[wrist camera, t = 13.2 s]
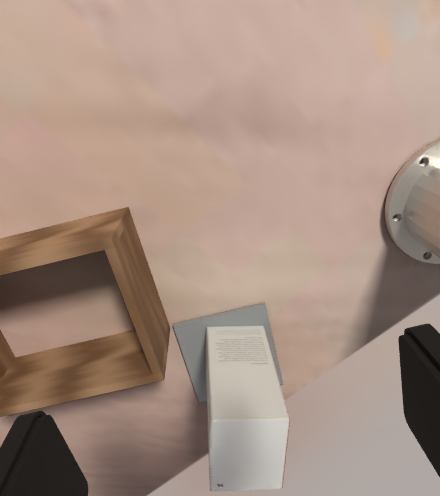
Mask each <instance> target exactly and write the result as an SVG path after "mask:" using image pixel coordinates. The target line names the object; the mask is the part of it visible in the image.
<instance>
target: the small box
mask: <svg viewBox="0 0 440 496" xmlns="http://www.w3.org/2000/svg"><path fill="white" fill-rule="evenodd" d="M206 388H207V413H208V447H209V475H210V476H209V478H210V491H245V490H266V489H281V488H282V487H283V479H284V469H285V460H286V451H287V442H288V432H289V422H290V418H289V415H288V411H287V408H286V404H285V401H284V397H283V393H282V390H281V386H280V383H279V379H278V376H277V372H276V368H275V365H274V361H273V358H272V354H271V350H270V347H269V343H268V339H267V336H266V332H265V329H264V326H217V327H207V329H206Z"/></svg>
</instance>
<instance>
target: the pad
mask: <svg viewBox="0 0 440 496" xmlns="http://www.w3.org/2000/svg"><path fill="white" fill-rule="evenodd" d="M217 326H264V329H265V332H266V336H267V339H268V343H269V347H270V350H271V354H272V358H273V361H274V365H275V368H276V372H277V376H278V379H279V383H280V385H283V381H282V377H281V372H280V368H279V363H278V359H277V354H276V350H275V346H274V341H273V337H272V332H271V328H270V323H269V319H268V314H267V310H266V306H265V302H264V303H260V304H256V305H251V306H247V307H243V308H238V309H234V310H230V311H225V312H221V313H217V314H213V315H208V316H204V317H200V318H195V319H191V320H187V321H182V322H178V323H174V324H173V327H174V330H175V333H176V336H177V339H178V342H179V345H180V348H181V351H182V354H183V357H184V360H185V363H186V366H187V368H188V371H189V374H190V377H191V380H192V383H193V386H194V389H195V392H196V395H197V398H198V401H199V403H203V402H207V388H206V329H207V327H217Z"/></svg>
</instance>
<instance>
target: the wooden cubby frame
mask: <svg viewBox="0 0 440 496" xmlns="http://www.w3.org/2000/svg"><path fill="white" fill-rule="evenodd" d="M102 250H105V252H106V255H107V258H108V260H109V263H110V265H111V268H112V271H113V273H114V276H115V278H116V281H117V283H118V286H119V289H120V291H121V294H122V296H123V299H124V302H125V304H126V307H127V309H128V312H129V314H130V317H131V320H132V322H133V325H134V327H135V330H133V331H129V332H125V333H120V334H116V335H112V336H107V337H103V338H99V339H94V340H90V341H86V342H82V343H77V344H73V345H69V346H64V347H60V348H56V349H52V350H47V351H43V352H39V353H34V354H30V355H26V356H21V357H17V358H15V356H14V354H13V352H12V351H11V349H10V347H9V345H8V343H7V342H6V340H5V338H4V336H3V334H2V332H1V331H0V417H2V416H7V415H11V414H16V413H20V412H24V411H29V410H33V409H38V408H42V407H47V406H51V405H55V404H60V403H64V402H69V401H73V400H77V399H82V398H86V397H91V396H95V395H100V394H104V393H108V392H113V391H117V390H122V389H126V388H131V387H135V386H139V385H144V384H148V383H153V382H157V381H162V380H164V378H165V369H166V360H167V352H168V343H169V335H170V326H169V324H168V321H167V318H166V315H165V312H164V309H163V306H162V303H161V300H160V297H159V295H158V292H157V289H156V286H155V283H154V280H153V277H152V274H151V271H150V268H149V266H148V263H147V260H146V257H145V254H144V251H143V248H142V245H141V242H140V239H139V237H138V234H137V231H136V228H135V225H134V222H133V219H132V216H131V213H130V210H129V208H128V207H127V208H123V209H119V210H115V211H111V212H107V213H103V214H99V215H95V216H91V217H87V218H83V219H78V220H74V221H70V222H66V223H62V224H58V225H54V226H50V227H46V228H42V229H38V230H34V231H30V232H26V233H22V234H18V235H14V236H10V237H6V238H2V239H0V275H3V274H8V273H12V272H16V271H20V270H24V269H28V268H32V267H36V266H40V265H45V264H49V263H53V262H57V261H61V260H65V259H69V258H73V257H77V256H82V255H86V254H90V253H94V252H98V251H102Z"/></svg>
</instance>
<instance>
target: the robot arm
mask: <svg viewBox="0 0 440 496" xmlns="http://www.w3.org/2000/svg"><path fill="white" fill-rule="evenodd" d="M421 159H422V160H421ZM420 160H421V162H420ZM419 162H420V163H419ZM394 215H395V216H394ZM393 216H394V217H393ZM385 222H386V226H387V230H388V232H389V234H390V236H391V238H392V240H393V241H394V243H395V244H396V245H397V246H398V247H399V248H400V249H401V250H402V251H403V252H405V253H406V254H407V255H409V256H410V257H412V258H414V259H415V260H418V261H421V262H424V263H430V264H440V140H437V141H435V142H433V143H431V144H429V145H427V146H426V147H424V148H422V149H421V150H419V151H418V152H417V153H415V154H414V155H413V156H412V157H411V158H410V159H409V160H408V161H407V162H406V163H405V164H404V165H403V167H402V168H401V169H400V170H399V172H398V173H397V175H396V177H395V178H394V180H393V182H392V184H391V186H390V189H389V192H388V195H387V198H386V204H385ZM399 352H400V366H401V380H402V393H403V406H404V414H405V418H406V421H407V424H408V426H409V428H410V429H411V431H412V432H413V434H414V436H415V437H416V439H417V441H418V442H419V444H420V446H421V447H422V449H423V451H424V452H425V454H426V456H427V457H428V459H429V461H430V462H431V464H432V465H433V467H434V469H435V470H436V472H437V474H438V475H439V477H440V334H439V333H438V332H437V330H436V329H435V328H434V327H433V326H431V325H430V324H424V325H419V326H415V327H411V328H407V329H405V331H404V335H402V336H399ZM0 496H88V484H87V481H86V479H85V477H84V475H83V473H82V471H81V469H80V467H79V466H78V464H77V462H76V460H75V458H74V456H73V455H72V453H71V451H70V449H69V447H68V445H67V444H66V442H65V440H64V438H63V436H62V434H61V433H60V431H59V429H58V427H57V425H56V423H55V421H54V420H53V418H52V417H51V416H50V415H46V414H45V413H44V412H43V411H38V412H34V413H29V414H25V415H20V416H19V417H17V419H16V420H15V422H14V423H13V425H12V427H11V429H10V431H9V433H8V435H7V436H6V438H5V440H4V442H3V444H2V446H1V447H0Z"/></svg>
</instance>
